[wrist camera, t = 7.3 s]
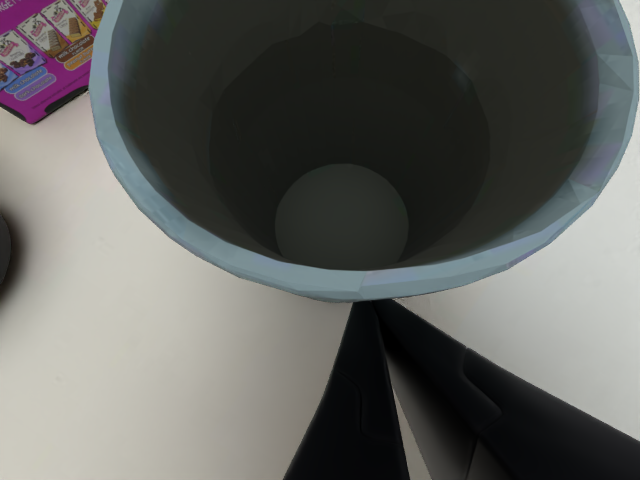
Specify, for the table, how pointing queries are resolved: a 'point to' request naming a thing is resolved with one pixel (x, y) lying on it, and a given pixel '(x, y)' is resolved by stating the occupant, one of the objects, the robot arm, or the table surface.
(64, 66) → the candy bar box
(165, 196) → the blue cup
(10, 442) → the table surface
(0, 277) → the mug
